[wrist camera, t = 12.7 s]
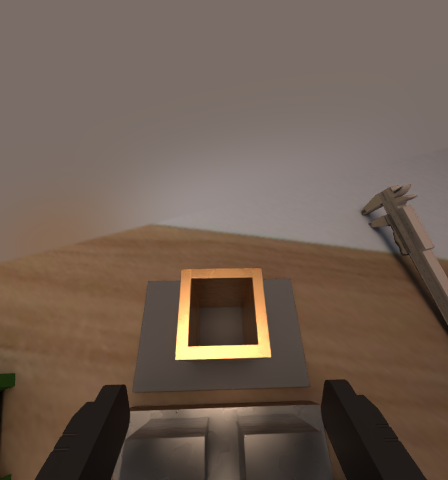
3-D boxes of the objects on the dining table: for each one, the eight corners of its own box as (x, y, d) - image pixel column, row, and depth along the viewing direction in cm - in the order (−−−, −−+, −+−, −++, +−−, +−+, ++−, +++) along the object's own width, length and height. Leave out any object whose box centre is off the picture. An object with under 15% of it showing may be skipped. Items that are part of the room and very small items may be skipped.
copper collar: (247, 300, 21) (261, 268, 14) (251, 360, 19) (271, 357, 12) (194, 301, 21) (181, 269, 14) (191, 362, 19) (175, 359, 12)
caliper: (358, 213, 28) (392, 175, 22) (365, 211, 28) (401, 173, 22) (497, 413, 18) (618, 433, 13) (508, 408, 18) (632, 426, 13)
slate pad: (288, 280, 23) (290, 278, 22) (307, 385, 18) (309, 386, 18) (149, 283, 22) (148, 281, 22) (134, 391, 18) (132, 392, 18)
